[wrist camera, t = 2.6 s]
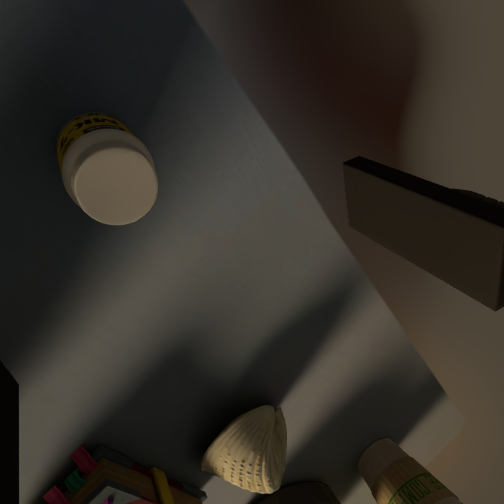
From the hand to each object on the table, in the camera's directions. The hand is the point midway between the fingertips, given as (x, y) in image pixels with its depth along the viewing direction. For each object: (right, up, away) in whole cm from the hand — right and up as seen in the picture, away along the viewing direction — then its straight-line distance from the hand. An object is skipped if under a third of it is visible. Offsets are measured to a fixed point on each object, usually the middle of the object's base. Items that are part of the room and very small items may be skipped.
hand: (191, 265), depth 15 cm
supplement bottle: (-8, +7, +13) cm, 17 cm away
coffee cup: (+19, -28, +45) cm, 56 cm away
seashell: (0, -17, +29) cm, 34 cm away
